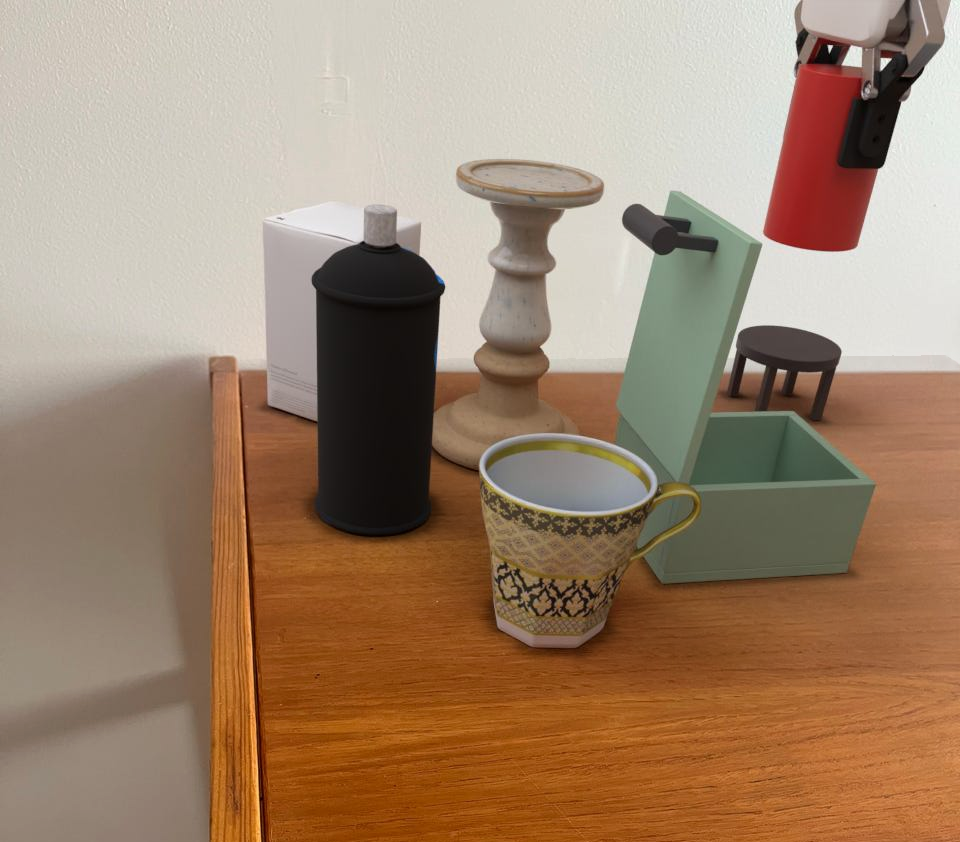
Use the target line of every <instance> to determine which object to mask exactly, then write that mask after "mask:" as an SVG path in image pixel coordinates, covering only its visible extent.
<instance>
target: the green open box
mask: <svg viewBox="0 0 960 842" xmlns="http://www.w3.org/2000/svg"><path fill="white" fill-rule="evenodd" d="M616 426H617V427H616V433H615V438H614V443H613V444H614V445H617V446H619V447H621V448H624V449H626V450H628V451H630V452H632V453H633V454H635V455H637V456H638V457H640V458H641V459H642V460H644V461H645V462H646V463H647V464H648V465H649V466H650V467H651V468H652V470H653V471H654V473H655V474H656V477H657V480H658V485H661V484H664V483H668V482H676V481H675V480H674V479H673V477H672V476H671V475H670V474H669V473H668V471H667V470H666V469H665V468H664V466H663V465H662V464H661V463H660V461H659V460H658V459H657V458H656V457H655V455H654V454H653V453H652V452H651V450H650V449H649V448H648V447H647V446H646V444H645V443H644V442H643V441H642V439H641V438H640V437H639V436H638V434H637V433H636V432H635V431H634V430H633V428H632V427H631V426H630V425H629V423H628V422H627V421H626V420H625V418H624V417H623V416H622V415H621V414H620V413H619V415H618V420H617V425H616ZM688 485H690V486H691V487H693V488H694V489H695V490H696V491H697V493H698V494H699V497H700V500H701V510H700V514H699V516H698V517H697V519H696V520H695V521H694V522H693V523H692V524H691V525H690V526H689V527H688V528H686V529H685V530H683V531H682V532H680V533H678V534H676V535H674V536H672V537H671V538H669V539H667V540H665V541H663V542H662V543H660V544H659V545H657V546H656V547H655V548H654V549H652V550H651V551H650V552H649V553H647V554H646V555H644V556H642V557H643V558H644V560H645V561H646V563H647V564H648V566H649V567H650V569H651V570H652V572H653V573H654V575H655V576H656V577H657V579H658V580H659V582H660V584H662V585H666V584H683V583H701V582H703V583H704V582H719V581H736V580H749V579H767V578H783V577H800V576H801V577H802V576H817V575H833V574H846V573H848V569H849V567H850V563H851V560H852V558H853V554H854V552H855V549H856V545H857V543H858V541H859V540H858V539H859V538H860V537H859V536H860V534H861V531H862V528H863V525H864V522H865V520H866V517H867V513H868V510H869V508H870V504H871V501H872V498H873V495H874V492H875V489H876V487H877V483H876V482H875V481H874V480H873V479H871V478H870V477H869V476H868V474H866V473H865V472H863V470H861V469H860V468H859V467H858V466H857V465H856V464H855V463H854V462H852V460H850V459H849V458H848V457H846V456H845V455H844V453H842V452H841V451H840V450H838V448H836V447H835V446H834V445H833V444H832V443H831V442H830V441H828V440H827V439H826V437H824V436H823V435H822V434H820V433H819V432H818V431H817V430H816V429H815V428H814V427H812V426H811V425H810V424H809V423H808V422H807V421H806V420H804V419H803V417H801V416H800V415H799V414H797V413H796V412H795V411H794V410H774V411H773V410H772V411H771V410H770V411H769V410H767V411H763V412H755V411H722V412H721V411H720V412H719V411H717V412H715V411H714V412H712V411H711V413H710V417H709V420H708V423H707V426H706V430H705V433H704V436H703V439H702V443H701V446H700V449H699V452H698V456H697V459H696V462H695V465H694V469H693V472H692V475H691V478H690V482H689V484H688ZM693 508H694V501H693V498H691V497H689V496H677V497H673V498H671V499H668V500H665V501H663V502H661V503H660V504H658V505H657V506H656V507H655V508H654V510H653V512H652V513H651V514H650V515H649V516H648V518H647V520H646V523H645V525H644V527H643V530H642V532H641V534H640V536H639V539H638V541H637V544H636V547H635V548H637V549H640V548H641V547H643V546H644V545H646V544H647V543H648V542H649V541H650V540H651V539H653V538H654V537H655V536H657V535H659V534H660V533H662V532H664V531H665V530H667V529H669V528H671V527H673V526H675V525H677V524H678V523H680V522H681V521H683V520H684V519H686V518H687V517H688V516H689V515H690V514H691V512H692V510H693Z"/></svg>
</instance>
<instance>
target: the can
mask: <svg viewBox="0 0 960 842" xmlns="http://www.w3.org/2000/svg"><path fill="white" fill-rule="evenodd" d="M882 70H883V69H882ZM882 70H881V69H880V72H881V71H882ZM861 74H862V66H854V65H844V64H842V65H833V64H803V65H800V66H799V69H798V74H797V78H795V81H796V83H795V82H794V85H795V87H794V86H793V90H794V92H793V91H792V94H793V97H792V96H791V99H792V101H791V100H790V104H791V106H790V105H789V108H790V110H789V109H788V113H789V115H788V114H787V117H788V119H787V118H786V122H787V124H786V123H785V126H786V128H784V131H785V133H784V132H783V135H784V138H783V137H782V143H781V148H780V152H779V156H778V160H777V165H776V171H775V175H774V180H773V183H772V189H771V192H770V198H769V201H768V206H767V212H766V215H765V220H764V224H763V230H762V234H763V235H764V237H765V238H767V239H768V240H771V241H772V242H775V243H778V244H781V245H783V246H784V245H785V246H786V247H792V248H794V249H795V248H796V249H801V250H806V251H814V252H815V251H816V252H826V253H828V252H831V253H839V252H847V251H852V250H855V249H856V248H857V247H858V245H859V242H860V238H861V234H862V231H863V227H864V225H865V224H864V222H865V220H866V216H867V212H868V208H869V205H870V202H871V197H872V194H873V190H874V187H875V183H876V180H877V175H878V172H879V169H859V168H843V167H841V166H839V165H838V163H837V159H838V155H839V151H840V147H841V143H842V139H843V135H844V131H845V127H846V123H847V119H848V115H849V111H850V107H851V103H852V99H853V98H862V96H861Z"/></svg>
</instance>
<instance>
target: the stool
mask: <svg viewBox="0 0 960 842" xmlns="http://www.w3.org/2000/svg"><path fill="white" fill-rule="evenodd" d="M735 349H736V351H735V354H734V355H735V356H734V359H733V364H732V368H731V372H730V376H729V380H728V381H729V383H728V385H727V389H726V395H727V396H728V397H730V398H733V397H734V398H735V397H739V392H740V389H741V384H742V380H743V376H744V372H745V368H746V363H747V359H748V360H750V361H752V362H754V363H757V364H760V365H762V366H765V367H764V371H763V375H762V379H761V383H760V387H759V392H758V397H757V400H756V403H755V404H756V405H755V408H754V412H763V411H768V408H769V405H770V401H771V398H772V393H773V390H774V385H775V382H776V377H777V375H778V370H781V371H786V373H785V376H784V380H783V381H784V382H783V385H782V389H781V394H782V395H783V396H785V397H788V396H789V397H791V396H793V393H794V389H795V386H796V383H797V379H798V374H799V373H821V375H820V378H819V381H818V385H817V390H816V393H815V397H814V400H813V403H812V407H811V410H810V414H809V418H810V419H811V420H812V421H822V419H823V415H824V411H825V408H826V405H827V401H828V397H829V394H830V391H831V387H832V384H833V380H834V378H835V373H836V371H837V367H838V366H839V364H840V360H841V356H842V352H843V351H842V348H841V347H840V346H839V344H837V343H836V342H835V341H833V340H832V339H830V338H828V337H826V336H823V335H821V334H819V333H816V332H813V331H809V330H806V329H801V328H797V327H791V326H785V325H771V324H770V325H769V324H767V325H765V324H764V325H763V324H762V325H754V326H753V325H752V326H748V327H745V328H742V329H741V330H740V331H738V334H737V337H736V343H735Z"/></svg>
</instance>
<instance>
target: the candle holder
mask: <svg viewBox="0 0 960 842" xmlns="http://www.w3.org/2000/svg"><path fill="white" fill-rule="evenodd" d="M454 178H455V183H456V186H457V187H458V189H460V190H461V191H463V192H465V193H466V194H468V195H470V196H472V197H474V198H477V199H480V200H482V201H487V202H489V206H490V210H491V212H492V214H493V216H495V218H497V219H498V222H499V226H500V238H499V241H498V243H497V245H496V246H495V247H493V248H492V249H491V250H490V251H489V252H488V254H487V262H488V264H489V265H490V266H491V267H492V268H493V269H494V274H493V279H492V282H491V286H490V291H489V292H488V297H487V299H486V302H485V304H484V306H483V309H482V311H481V314H480V317H479V321H478V328H479V332H480V334H481V337H482V338H483V339H484V340H485V341H486V342H484V343H483V344H482V345H481V347H479V348H478V349H477V350H476V351H475V352H474V354H473V363H474V365H475V366H476V367H477V369H478V371H479V373H480V374H481V377H480V382H479V387H478V390H477V392H472V393H469V394H466V395H463V396H460V397H459V398H458V399H456V400H454V401H451V402H448V403H446V404H445V405H443V406H440V408H438V409H437V410H436V411H434V418H433V435H432V448H433V449H434V451H436V452H437V453H438V454H439V455H441V456H442V457H444V459H447V460H448V461H451V462H452V463H455V464H457V465H460V466H462V467H465V468H468V469H471V470H475V471H479V461H480V458H481V456H482V455H483V453H484V452H485V451H486V450H487V449H488V448H489V447H491V446H492V445H494V444H496V443H498V442H500V441H503V440H505V439H508V438H512V437H516V436H521V435H526V434H536V433H561V434H572V435H578V436H581V434H580V431H579V427H578V426H577V425H576V423H574V421H573V420H572V419H570V417H568V416H567V415H565V414H564V413H562V412H560V411H559V410H558V409H557V408H555V406H554V405H552V404H550V402H547V401H545V400H544V399H541V398H539V380H540V379H541V378H542V377H543V376H544V375H545V374H546V373H547V372H548V371H549V369H550V365H551V364H550V363H551V362H550V359H549V357H548V356H547V354H545V351H544V350H543V348H542V346H543V345H544V344H545V343H546V342H547V341H548V340H549V338H550V336H551V334H552V319H551V315H550V309H549V304H548V303H549V302H548V295H547V275H548V274H550V273H551V272H553V271H554V270H555V269H556V267H557V260H556V258H555V256H554V255H553V254H552V253H551V252H550V250H549V243H548V241H549V235H550V232H551V230H552V228H553V226H554V225H555V224H557V223H559V221H561V219H562V218H563V216H564V214H565V211H566V210H571V209H572V210H573V209H579V208H584V207H588V206H591V205H595V204H597V203H598V202H600V201H601V200H602V198H603V196H604V193H605V182H604V180H602V178H600V177H599V176H597V175H595V174H593V173H592V172H589V171H586V170H583V169H580V168H577V167H572V166H569V165H566V164H565V165H564V164H559V163H553V162H547V161H541V160H531V159H519V158H517V159H516V158H487V159H486V158H485V159H478V160H471V161H468V162H465V163H462V164H460V165H459V166H458V167H457V168H456V170H455V175H454Z"/></svg>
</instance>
